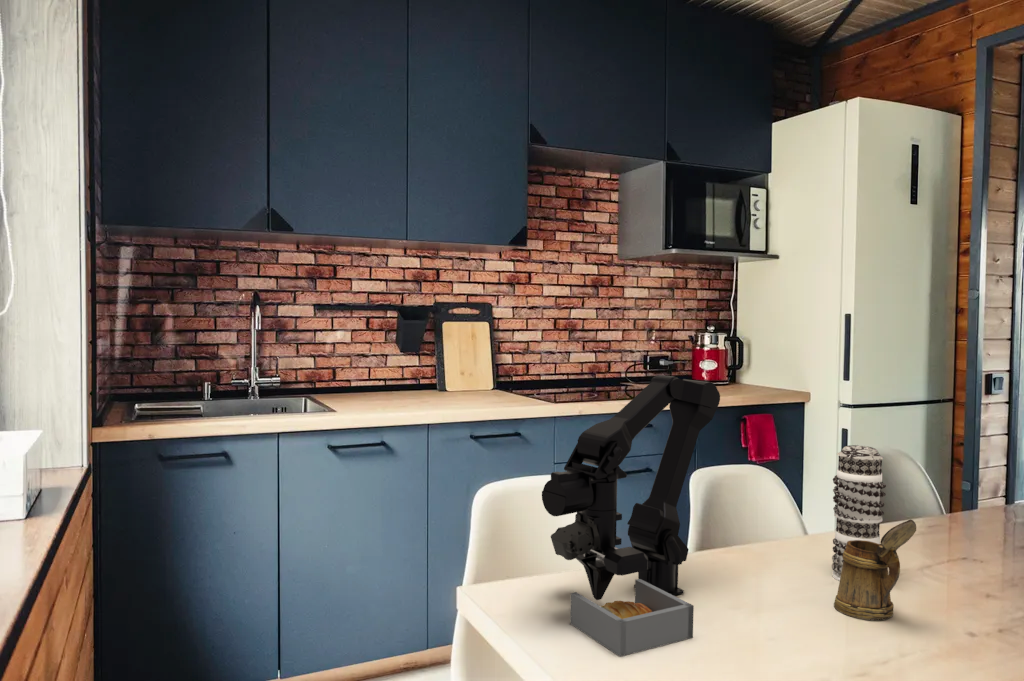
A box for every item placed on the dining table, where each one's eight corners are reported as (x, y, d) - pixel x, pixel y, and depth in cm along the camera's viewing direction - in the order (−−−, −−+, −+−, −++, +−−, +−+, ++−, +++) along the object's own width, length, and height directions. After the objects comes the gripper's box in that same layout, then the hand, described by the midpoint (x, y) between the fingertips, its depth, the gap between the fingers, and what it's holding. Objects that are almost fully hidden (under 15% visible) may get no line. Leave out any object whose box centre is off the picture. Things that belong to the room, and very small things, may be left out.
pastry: (634, 611, 128) (635, 589, 128) (663, 626, 122) (664, 603, 122) (591, 623, 123) (591, 600, 123) (619, 639, 117) (620, 615, 117)
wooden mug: (885, 635, 120) (890, 522, 119) (822, 603, 132) (826, 500, 131) (928, 628, 123) (932, 517, 122) (862, 597, 135) (866, 497, 134)
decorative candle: (834, 584, 142) (838, 450, 141) (825, 567, 151) (830, 442, 150) (887, 589, 140) (892, 453, 138) (876, 572, 149) (880, 444, 147)
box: (639, 607, 129) (639, 578, 129) (692, 637, 118) (693, 605, 118) (570, 623, 122) (570, 592, 122) (619, 656, 111) (620, 622, 111)
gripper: (528, 499, 131) (527, 589, 132) (594, 527, 115) (592, 629, 115) (581, 492, 136) (579, 578, 137) (651, 518, 120) (648, 615, 121)
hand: (597, 599), depth 128 cm, fingers closed
